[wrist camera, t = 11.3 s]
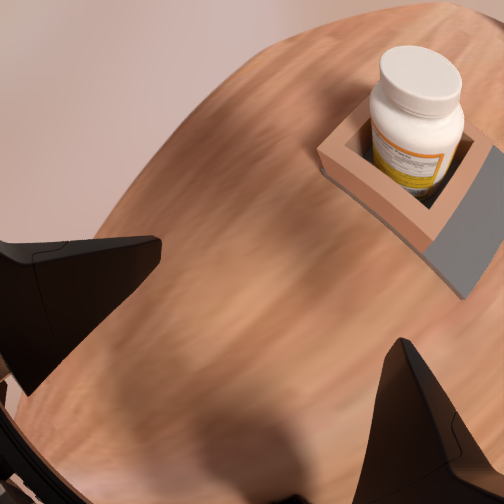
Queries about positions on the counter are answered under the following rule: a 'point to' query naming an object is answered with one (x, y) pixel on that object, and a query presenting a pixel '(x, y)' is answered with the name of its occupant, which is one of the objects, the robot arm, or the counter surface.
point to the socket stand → (435, 207)
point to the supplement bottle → (416, 118)
